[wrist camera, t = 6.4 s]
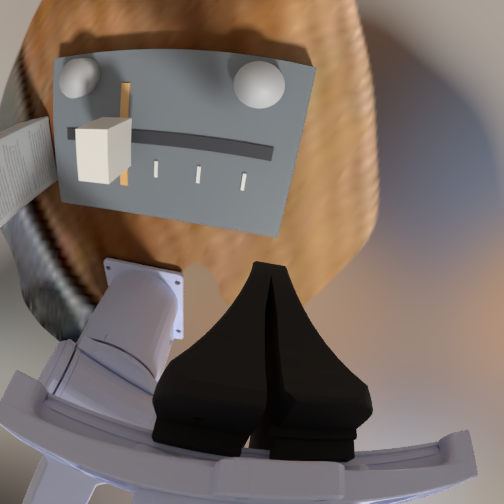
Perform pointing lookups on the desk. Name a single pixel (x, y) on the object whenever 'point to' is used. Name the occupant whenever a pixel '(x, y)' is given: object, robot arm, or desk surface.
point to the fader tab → (103, 149)
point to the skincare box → (25, 165)
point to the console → (187, 133)
